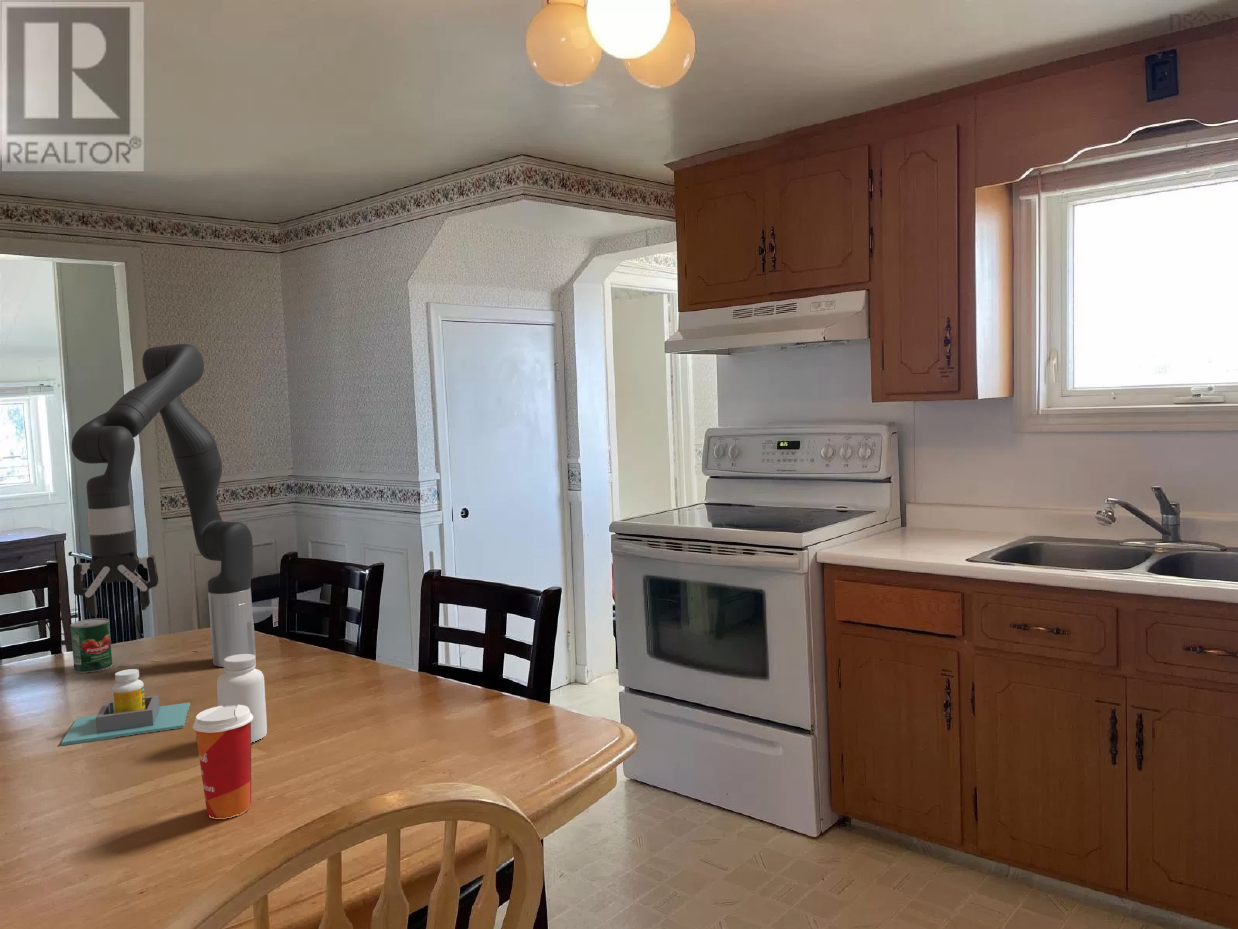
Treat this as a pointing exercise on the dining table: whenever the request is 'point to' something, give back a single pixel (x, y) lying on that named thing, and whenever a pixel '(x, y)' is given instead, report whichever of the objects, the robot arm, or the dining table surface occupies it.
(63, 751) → the dining table surface
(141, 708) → the supplement bottle
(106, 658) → the canned tomato
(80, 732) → the bottle stand
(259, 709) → the pill bottle
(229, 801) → the coffee cup
